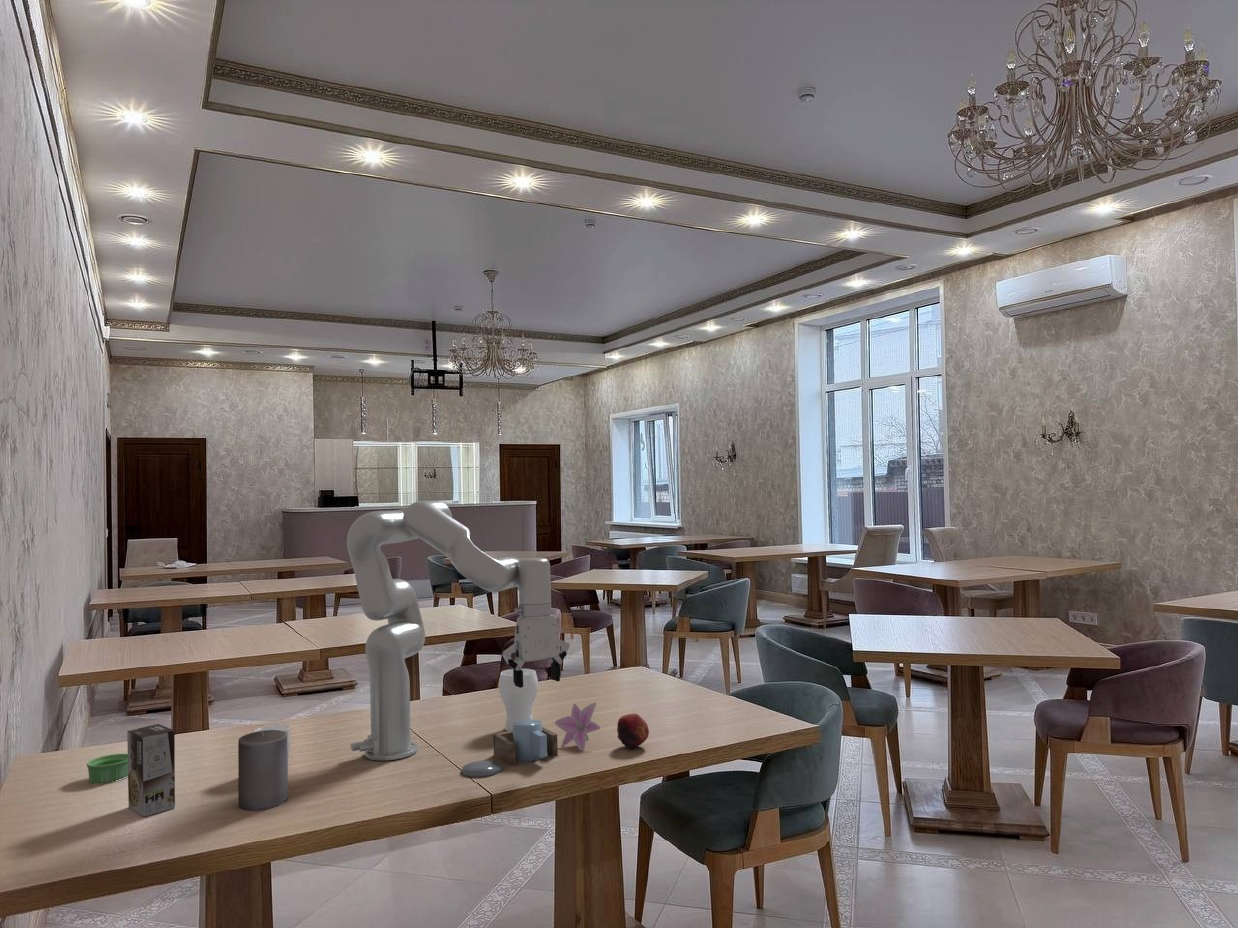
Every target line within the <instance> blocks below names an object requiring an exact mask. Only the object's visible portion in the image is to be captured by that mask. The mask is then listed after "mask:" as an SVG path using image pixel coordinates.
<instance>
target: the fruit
mask: <svg viewBox="0 0 1238 928" xmlns="http://www.w3.org/2000/svg"><path fill="white" fill-rule="evenodd" d="M616 726H617V727H616V728H617V729H616V731H617V738H618V740H619V741H620V742H621V744H622V745H623V746H625V747H626V748H629V749H631V748H632V749H634V748H637V747H639V746H641V745H642V744H643V743H644V742H646V740H647V739H648V738H649V733H650V730H649V725H648V724H647V722H646V721H645V719H644V718H643V717H642V716H641V715H639V714H638V713H627V714H624V715H622V716H620V717H619V718H618V721H617V725H616Z"/></svg>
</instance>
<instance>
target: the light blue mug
mask: <svg viewBox="0 0 1238 928" xmlns="http://www.w3.org/2000/svg"><path fill="white" fill-rule="evenodd" d="M542 727H543V722H542V720H539V719H534V718H532V719H526V720H519V721H516V722H514V723H513V742H514V743H515V761H516V762H524V763H525V762H526V763H527V762H535V761H538V760H540V759H542V758H545V757H546V758H547V757H548V753H547V735H546V734H544V733H542Z"/></svg>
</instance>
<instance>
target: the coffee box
mask: <svg viewBox="0 0 1238 928" xmlns="http://www.w3.org/2000/svg"><path fill="white" fill-rule="evenodd" d="M175 732H176V731H175V730H174V729H173V728H170V727H167V726H164V725H162V724H159V723H157V724H152V725H151V724H150V725H147V726H143V727H139V728H135V729H131V730H127V732H126V733H127V734H126V736H127V754H128V777H127V781H128V782H127V785H128V786H127V788H128V793H127V795H128V797H127V798H128V809H130V808H131V809H130V810H132V811H134V812H135V813H137V814H139V815H140V816H142V817H145V818H146V817H147V816H152V815H156V814H158V813H163V812H167V811H170V810H174V809H175V808H176V779H175V778H176V773H175V772H176V770H175V769H176V768H175V767H176V766H175V763H176V762H175V757H176V756H175V754H176V753H175V752H176V751H175V750H176V749H175V741H176V740H175V737H176V736H175Z"/></svg>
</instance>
